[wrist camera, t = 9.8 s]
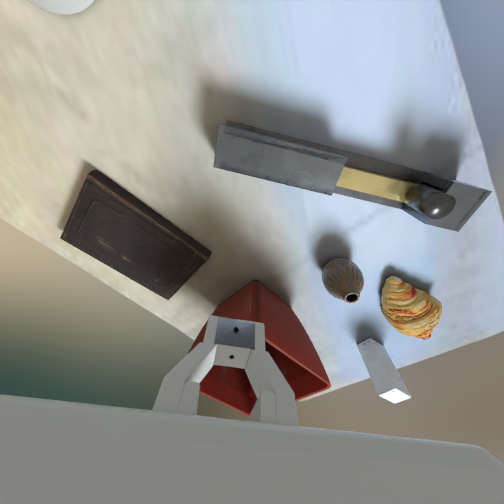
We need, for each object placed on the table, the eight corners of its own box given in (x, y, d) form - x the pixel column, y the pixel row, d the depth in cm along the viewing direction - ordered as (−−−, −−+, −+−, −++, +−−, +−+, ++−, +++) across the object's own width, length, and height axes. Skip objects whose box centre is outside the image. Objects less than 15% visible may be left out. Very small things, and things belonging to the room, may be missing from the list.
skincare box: (356, 344, 55) (377, 395, 45) (369, 336, 53) (395, 388, 43) (370, 353, 57) (394, 404, 46) (384, 346, 55) (412, 397, 45)
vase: (325, 249, 40) (340, 278, 33) (360, 255, 40) (382, 286, 33) (313, 277, 44) (324, 309, 36) (345, 282, 44) (362, 315, 37)
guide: (219, 164, 33) (211, 172, 28) (225, 119, 29) (217, 119, 24) (430, 215, 36) (458, 231, 31) (456, 180, 32) (492, 191, 27)
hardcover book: (171, 293, 49) (168, 300, 47) (69, 232, 41) (59, 238, 39) (212, 250, 42) (210, 256, 40) (98, 168, 34) (88, 171, 32)
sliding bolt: (295, 174, 32) (303, 187, 26) (302, 151, 30) (313, 160, 24) (426, 206, 34) (463, 226, 27) (439, 187, 32) (483, 203, 26)
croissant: (365, 269, 46) (361, 299, 42) (421, 260, 39) (424, 296, 34) (401, 322, 54) (402, 352, 49) (454, 323, 47) (460, 359, 42)
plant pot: (313, 310, 49) (334, 388, 35) (254, 343, 56) (251, 418, 42) (257, 260, 42) (255, 332, 28) (198, 305, 49) (172, 379, 35)
